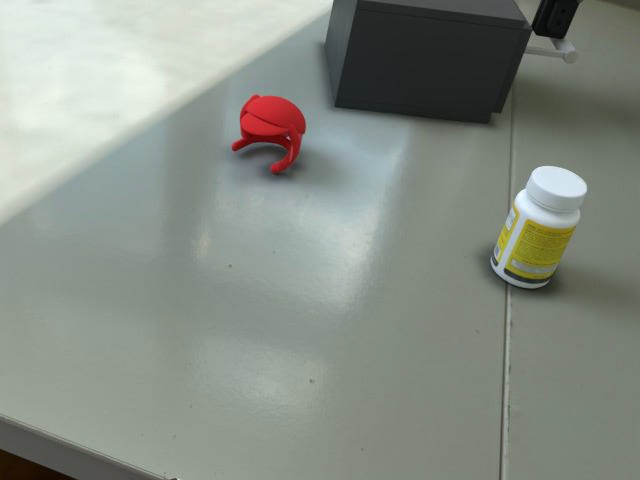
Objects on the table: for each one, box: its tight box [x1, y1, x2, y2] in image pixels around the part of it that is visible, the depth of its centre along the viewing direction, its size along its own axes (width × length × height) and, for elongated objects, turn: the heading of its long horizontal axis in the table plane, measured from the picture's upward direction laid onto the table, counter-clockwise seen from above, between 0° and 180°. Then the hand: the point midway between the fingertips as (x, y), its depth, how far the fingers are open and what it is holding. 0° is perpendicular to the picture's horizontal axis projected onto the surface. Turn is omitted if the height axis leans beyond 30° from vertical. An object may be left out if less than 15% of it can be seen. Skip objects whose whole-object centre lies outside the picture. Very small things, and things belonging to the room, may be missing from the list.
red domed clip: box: [231, 93, 307, 174], centre depth 67 cm, size 8×6×6 cm
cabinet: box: [324, 0, 527, 125], centre depth 80 cm, size 16×14×11 cm
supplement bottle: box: [490, 165, 588, 289], centre depth 59 cm, size 5×5×8 cm
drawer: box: [492, 0, 579, 114], centre depth 80 cm, size 21×13×9 cm, turn 90°
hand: (546, 33), depth 80 cm, fingers closed
